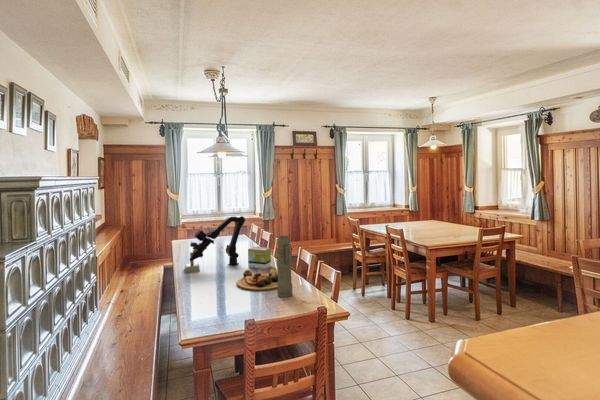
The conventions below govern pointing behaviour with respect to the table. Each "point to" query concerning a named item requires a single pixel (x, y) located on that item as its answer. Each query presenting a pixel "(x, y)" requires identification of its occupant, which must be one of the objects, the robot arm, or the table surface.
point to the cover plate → (191, 261)
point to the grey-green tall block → (284, 267)
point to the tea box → (259, 257)
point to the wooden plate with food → (258, 281)
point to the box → (192, 268)
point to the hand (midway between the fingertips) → (189, 260)
